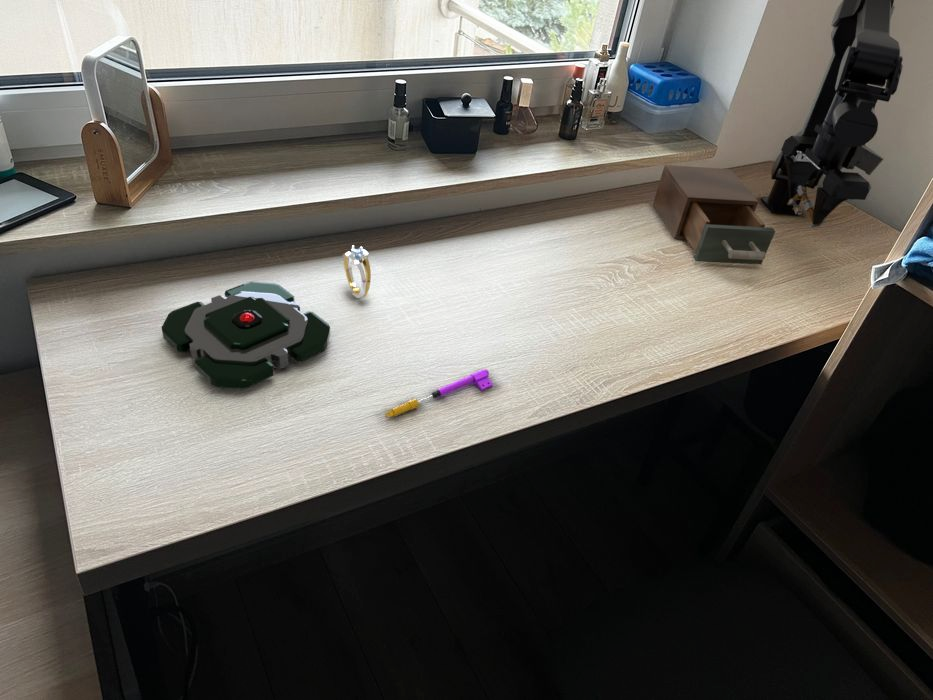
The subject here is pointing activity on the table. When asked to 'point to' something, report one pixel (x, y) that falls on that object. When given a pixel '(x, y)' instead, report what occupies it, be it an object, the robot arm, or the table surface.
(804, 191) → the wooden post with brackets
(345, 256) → the ring
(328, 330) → the clover-shaped pad
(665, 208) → the cabinet
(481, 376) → the purple and gold rod
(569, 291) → the table surface
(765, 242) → the drawer
